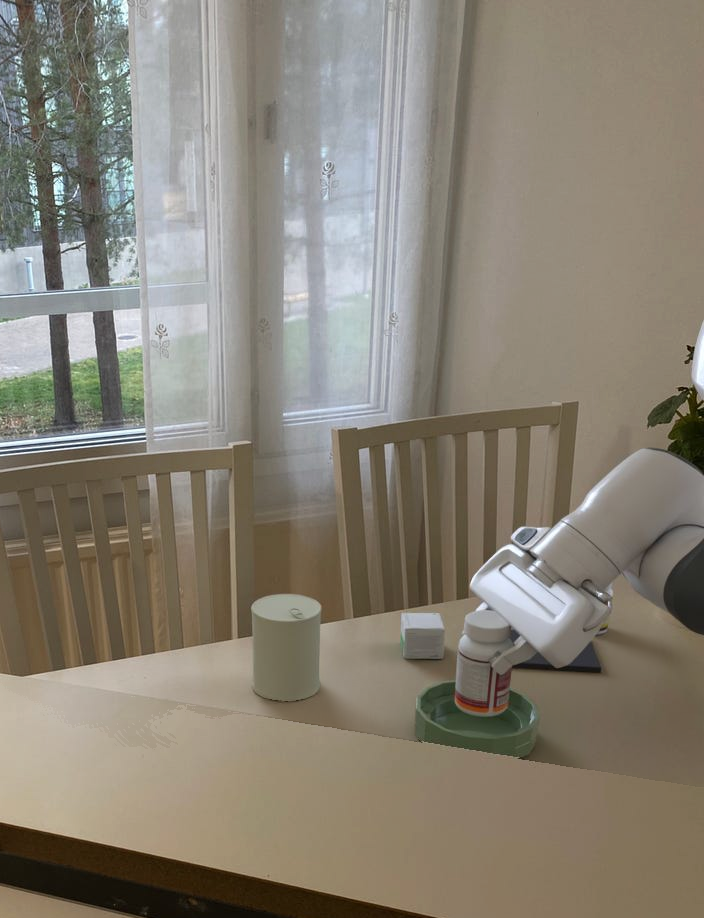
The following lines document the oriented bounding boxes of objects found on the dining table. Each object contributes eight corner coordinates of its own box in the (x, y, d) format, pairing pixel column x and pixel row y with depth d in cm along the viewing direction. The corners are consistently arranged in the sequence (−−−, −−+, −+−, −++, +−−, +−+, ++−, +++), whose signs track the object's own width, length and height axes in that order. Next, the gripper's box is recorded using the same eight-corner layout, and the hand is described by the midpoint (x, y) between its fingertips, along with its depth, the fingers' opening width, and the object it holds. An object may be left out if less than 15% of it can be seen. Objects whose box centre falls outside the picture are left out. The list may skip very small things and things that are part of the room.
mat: (587, 638, 134) (587, 633, 133) (600, 672, 124) (601, 667, 124) (474, 632, 137) (475, 627, 136) (479, 665, 127) (480, 660, 127)
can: (273, 708, 117) (273, 623, 112) (239, 679, 125) (238, 598, 120) (333, 691, 121) (336, 608, 116) (297, 664, 129) (297, 585, 123)
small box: (399, 642, 134) (401, 611, 132) (438, 642, 134) (441, 612, 132) (402, 659, 129) (404, 628, 127) (443, 660, 129) (446, 628, 126)
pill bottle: (498, 691, 111) (506, 606, 106) (514, 717, 105) (524, 628, 100) (448, 694, 111) (454, 609, 106) (461, 720, 105) (469, 631, 100)
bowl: (527, 712, 115) (531, 683, 113) (541, 774, 102) (545, 742, 101) (414, 704, 117) (416, 676, 116) (414, 764, 105) (416, 733, 103)
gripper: (637, 620, 94) (538, 713, 97) (543, 553, 112) (462, 633, 115) (603, 584, 91) (502, 680, 94) (512, 522, 110) (430, 604, 113)
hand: (479, 654), depth 105 cm, fingers closed on pill bottle, 6 cm apart
